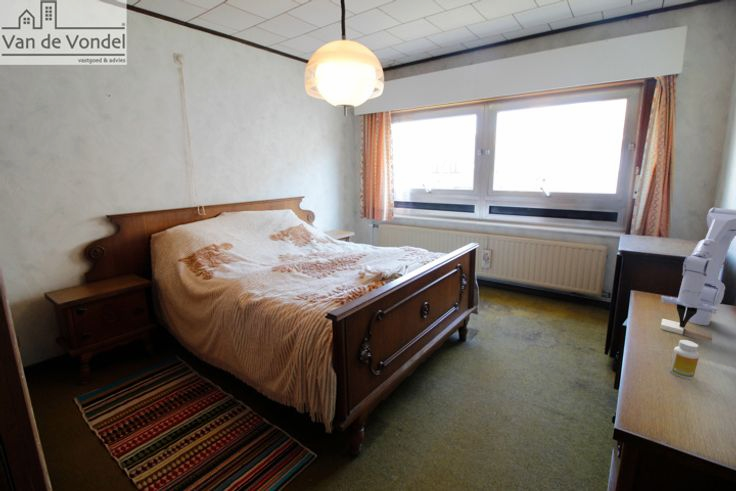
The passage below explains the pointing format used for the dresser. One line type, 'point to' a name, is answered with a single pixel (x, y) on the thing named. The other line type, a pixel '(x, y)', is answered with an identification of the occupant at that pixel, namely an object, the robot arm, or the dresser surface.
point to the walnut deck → (698, 335)
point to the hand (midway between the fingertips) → (682, 326)
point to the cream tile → (671, 326)
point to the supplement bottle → (684, 359)
